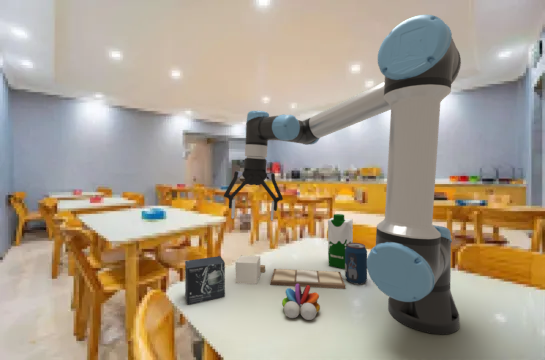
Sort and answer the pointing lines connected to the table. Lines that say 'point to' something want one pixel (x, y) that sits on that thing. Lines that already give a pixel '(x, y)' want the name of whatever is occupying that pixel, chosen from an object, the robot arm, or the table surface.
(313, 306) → the rainbow petal fan toy
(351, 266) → the soda can
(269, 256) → the table surface
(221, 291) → the box
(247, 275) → the white cube
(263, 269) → the stick
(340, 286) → the board
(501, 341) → the table surface
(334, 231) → the milk carton
